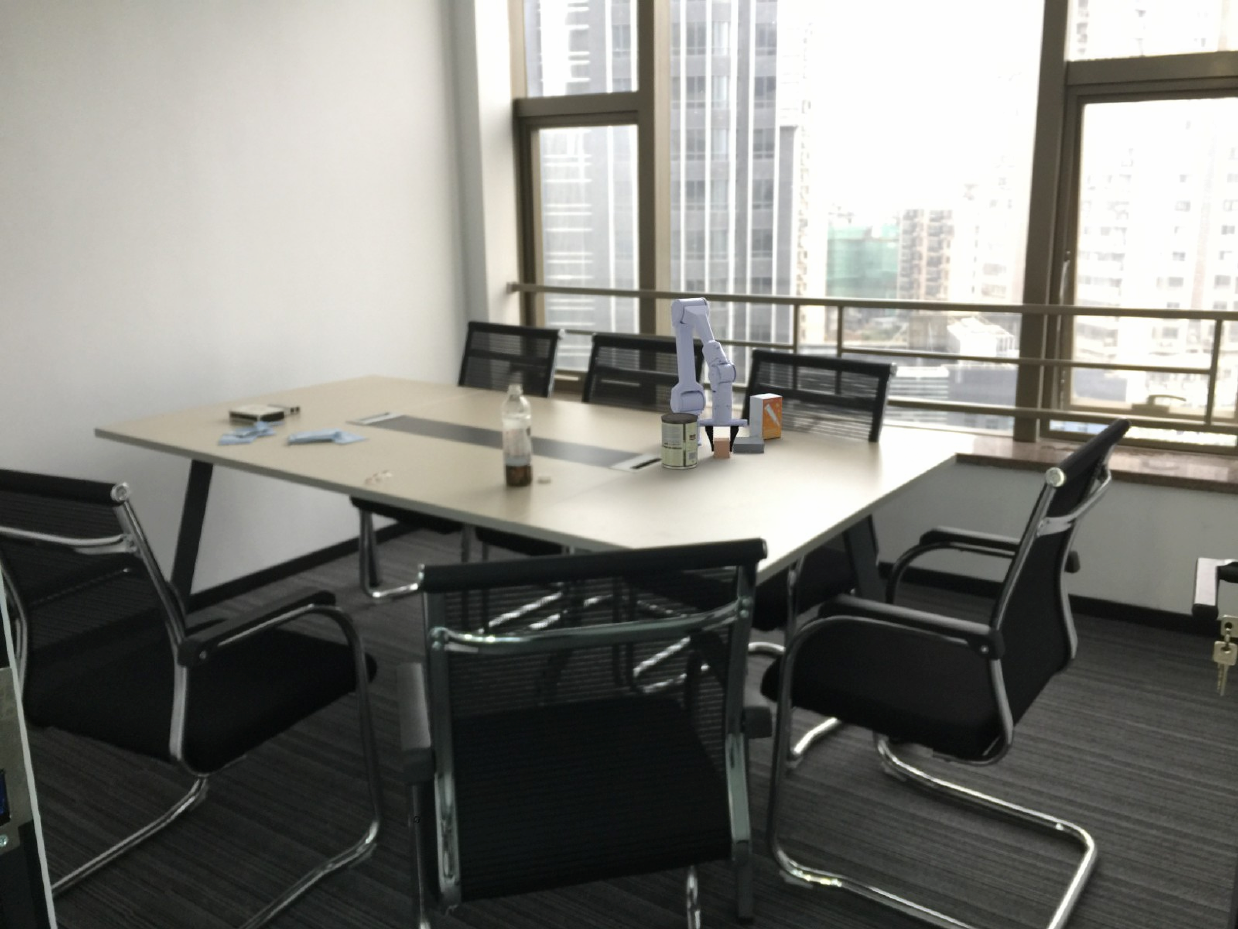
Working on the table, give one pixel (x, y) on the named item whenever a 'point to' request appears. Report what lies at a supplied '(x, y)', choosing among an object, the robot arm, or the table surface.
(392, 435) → the table surface
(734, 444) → the plate
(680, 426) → the coffee can
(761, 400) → the small box
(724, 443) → the peach block
